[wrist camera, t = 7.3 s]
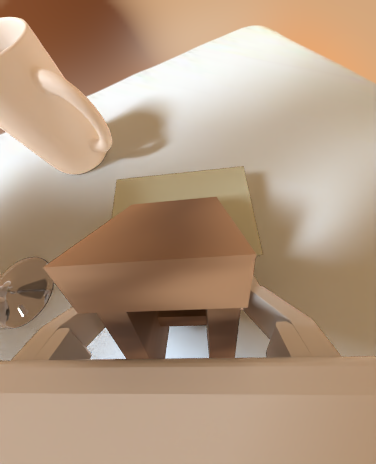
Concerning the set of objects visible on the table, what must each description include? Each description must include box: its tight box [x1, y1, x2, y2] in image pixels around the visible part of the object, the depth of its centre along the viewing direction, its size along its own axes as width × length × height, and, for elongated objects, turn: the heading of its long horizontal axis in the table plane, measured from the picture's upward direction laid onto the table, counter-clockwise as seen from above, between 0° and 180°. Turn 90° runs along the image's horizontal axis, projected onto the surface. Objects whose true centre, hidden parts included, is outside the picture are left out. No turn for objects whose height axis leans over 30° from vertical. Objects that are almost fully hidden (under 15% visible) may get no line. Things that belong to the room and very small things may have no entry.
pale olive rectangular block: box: [111, 166, 263, 257], centre depth 13 cm, size 12×8×4 cm, turn 93°
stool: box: [43, 197, 256, 359], centre depth 8 cm, size 6×11×11 cm, turn 3°
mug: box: [0, 17, 112, 174], centre depth 15 cm, size 12×8×10 cm
